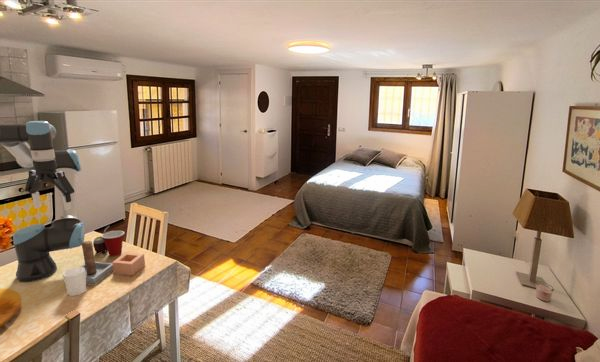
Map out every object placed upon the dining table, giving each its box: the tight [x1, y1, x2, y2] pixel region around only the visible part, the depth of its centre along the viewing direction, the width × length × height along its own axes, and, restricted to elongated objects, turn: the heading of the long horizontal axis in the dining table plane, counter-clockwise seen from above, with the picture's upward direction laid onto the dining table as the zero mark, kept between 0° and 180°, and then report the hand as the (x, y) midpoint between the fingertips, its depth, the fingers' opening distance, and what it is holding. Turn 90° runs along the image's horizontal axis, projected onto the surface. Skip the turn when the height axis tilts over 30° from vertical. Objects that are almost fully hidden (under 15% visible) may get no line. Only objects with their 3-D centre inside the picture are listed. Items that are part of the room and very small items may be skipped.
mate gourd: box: [92, 225, 110, 255], centre depth 174 cm, size 8×8×15 cm
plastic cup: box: [100, 230, 125, 257], centre depth 173 cm, size 11×11×12 cm
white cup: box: [62, 266, 87, 297], centre depth 140 cm, size 8×8×10 cm
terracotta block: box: [111, 252, 146, 276], centre depth 159 cm, size 10×10×6 cm
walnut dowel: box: [81, 240, 97, 275], centre depth 152 cm, size 4×4×16 cm
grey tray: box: [79, 261, 114, 285], centre depth 154 cm, size 14×14×3 cm
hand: (53, 208), depth 137 cm, fingers open, 13 cm apart
